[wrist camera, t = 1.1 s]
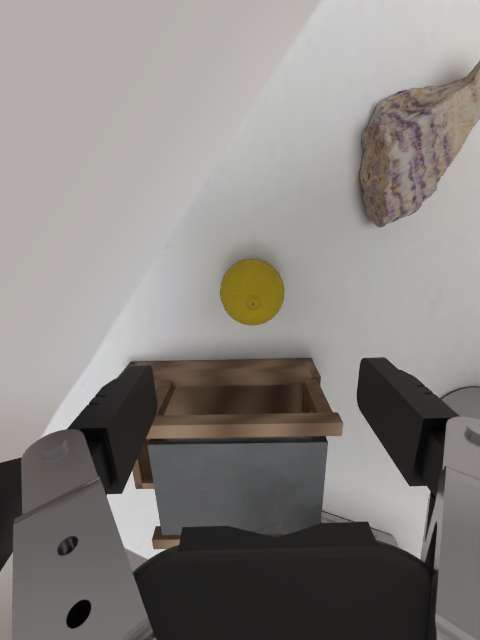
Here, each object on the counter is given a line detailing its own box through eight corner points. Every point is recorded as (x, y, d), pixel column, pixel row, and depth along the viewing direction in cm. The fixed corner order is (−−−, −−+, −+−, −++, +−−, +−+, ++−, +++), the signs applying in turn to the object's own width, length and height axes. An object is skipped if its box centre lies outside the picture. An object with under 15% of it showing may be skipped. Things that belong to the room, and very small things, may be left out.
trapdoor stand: (311, 358, 31) (343, 420, 21) (305, 458, 35) (329, 549, 25) (130, 361, 31) (78, 424, 21) (147, 460, 36) (110, 550, 26)
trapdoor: (321, 424, 23) (328, 440, 21) (314, 515, 26) (319, 535, 25) (154, 427, 23) (146, 442, 22) (167, 516, 27) (162, 536, 25)
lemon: (224, 253, 27) (217, 264, 20) (280, 256, 27) (295, 268, 20) (222, 308, 29) (215, 336, 21) (275, 310, 29) (287, 340, 21)
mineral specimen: (407, 44, 22) (466, -22, 16) (477, 93, 23) (557, 46, 17) (321, 199, 26) (344, 191, 20) (385, 236, 27) (425, 238, 21)
